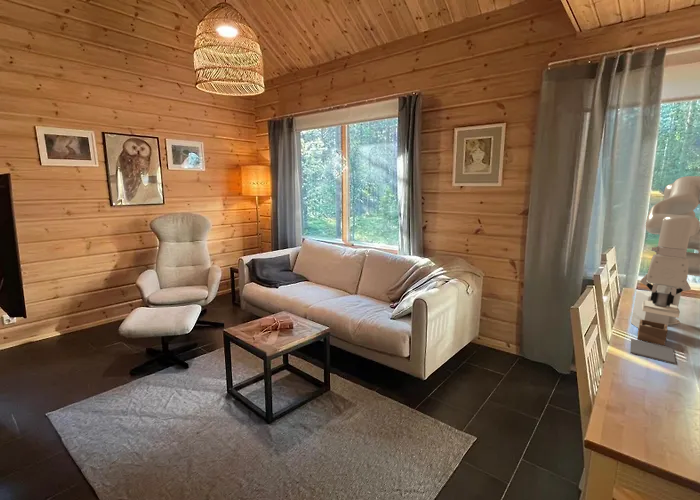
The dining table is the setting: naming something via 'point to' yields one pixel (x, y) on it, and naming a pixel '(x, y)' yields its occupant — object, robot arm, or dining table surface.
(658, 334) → the storage box
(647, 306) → the lid
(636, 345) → the mat
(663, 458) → the dining table surface
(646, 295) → the supplement box
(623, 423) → the dining table surface
